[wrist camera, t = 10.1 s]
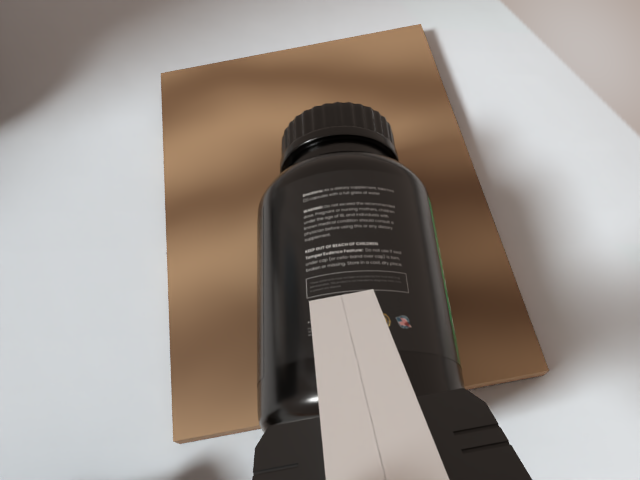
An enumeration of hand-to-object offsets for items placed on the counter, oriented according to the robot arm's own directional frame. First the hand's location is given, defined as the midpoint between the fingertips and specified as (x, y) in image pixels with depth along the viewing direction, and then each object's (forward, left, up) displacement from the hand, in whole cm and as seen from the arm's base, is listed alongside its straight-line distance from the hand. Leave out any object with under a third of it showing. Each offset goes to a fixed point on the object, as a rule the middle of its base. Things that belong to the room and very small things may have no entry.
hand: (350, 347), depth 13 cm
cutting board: (+8, +7, -10) cm, 15 cm away
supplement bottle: (-1, -1, -6) cm, 6 cm away
